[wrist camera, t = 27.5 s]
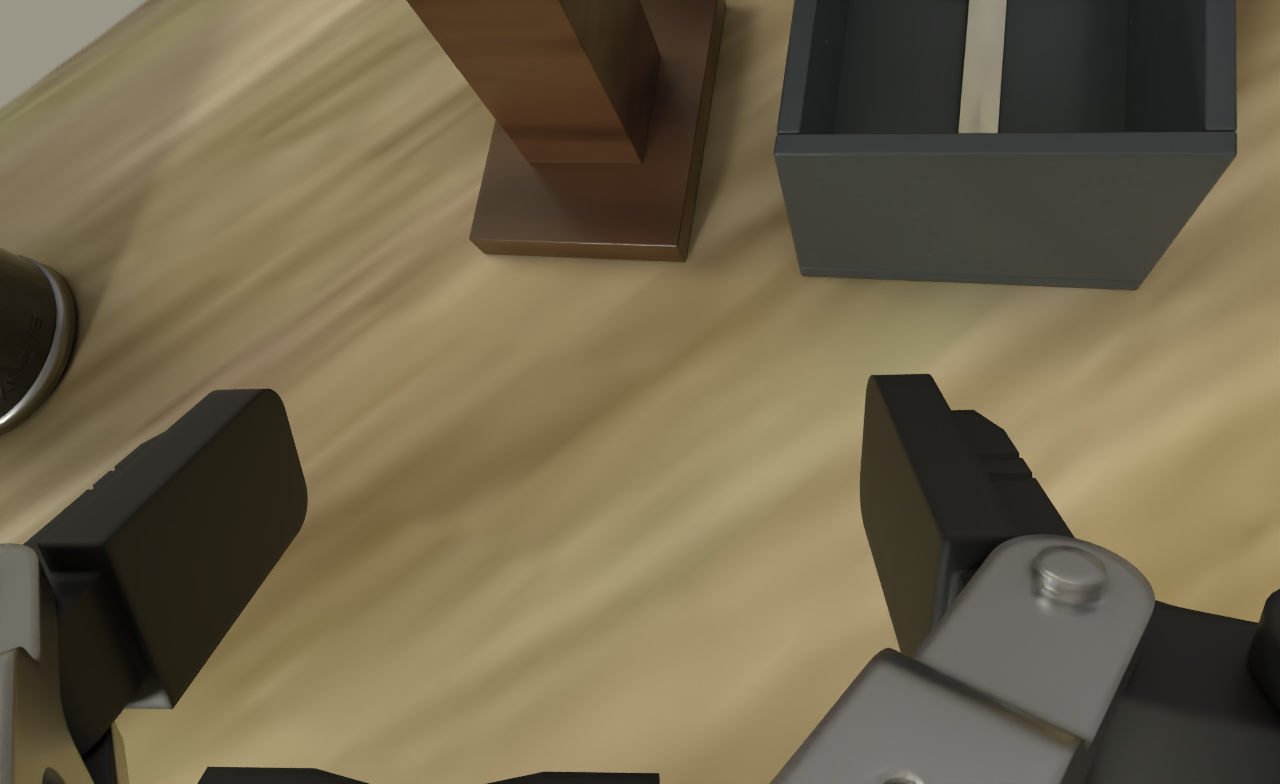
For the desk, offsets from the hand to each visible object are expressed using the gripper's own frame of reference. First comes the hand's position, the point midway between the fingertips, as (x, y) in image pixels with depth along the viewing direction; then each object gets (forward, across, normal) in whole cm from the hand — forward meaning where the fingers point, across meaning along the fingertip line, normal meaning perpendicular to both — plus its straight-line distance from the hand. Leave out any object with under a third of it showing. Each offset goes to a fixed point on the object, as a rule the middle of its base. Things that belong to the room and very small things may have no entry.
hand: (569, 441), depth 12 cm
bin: (+27, -13, -3) cm, 30 cm away
